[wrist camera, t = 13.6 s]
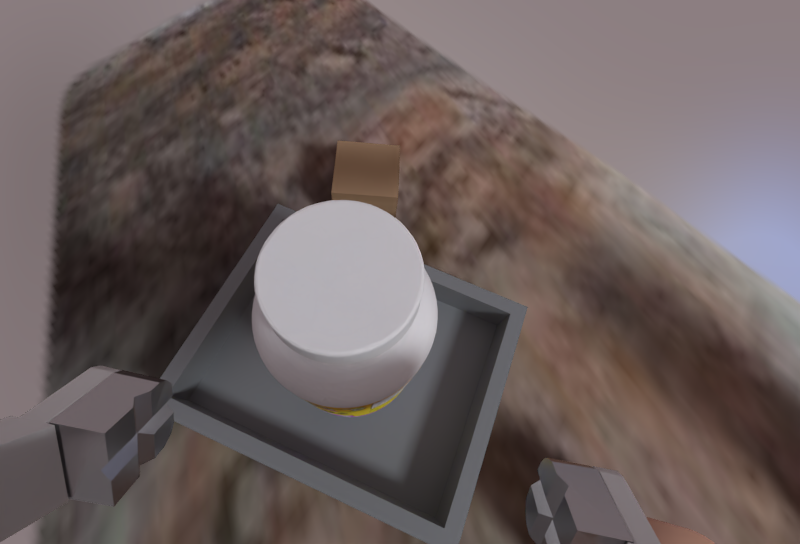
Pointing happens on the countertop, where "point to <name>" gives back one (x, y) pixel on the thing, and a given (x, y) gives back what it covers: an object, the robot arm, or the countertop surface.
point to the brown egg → (676, 534)
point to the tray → (365, 435)
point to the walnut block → (367, 174)
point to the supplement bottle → (343, 306)
